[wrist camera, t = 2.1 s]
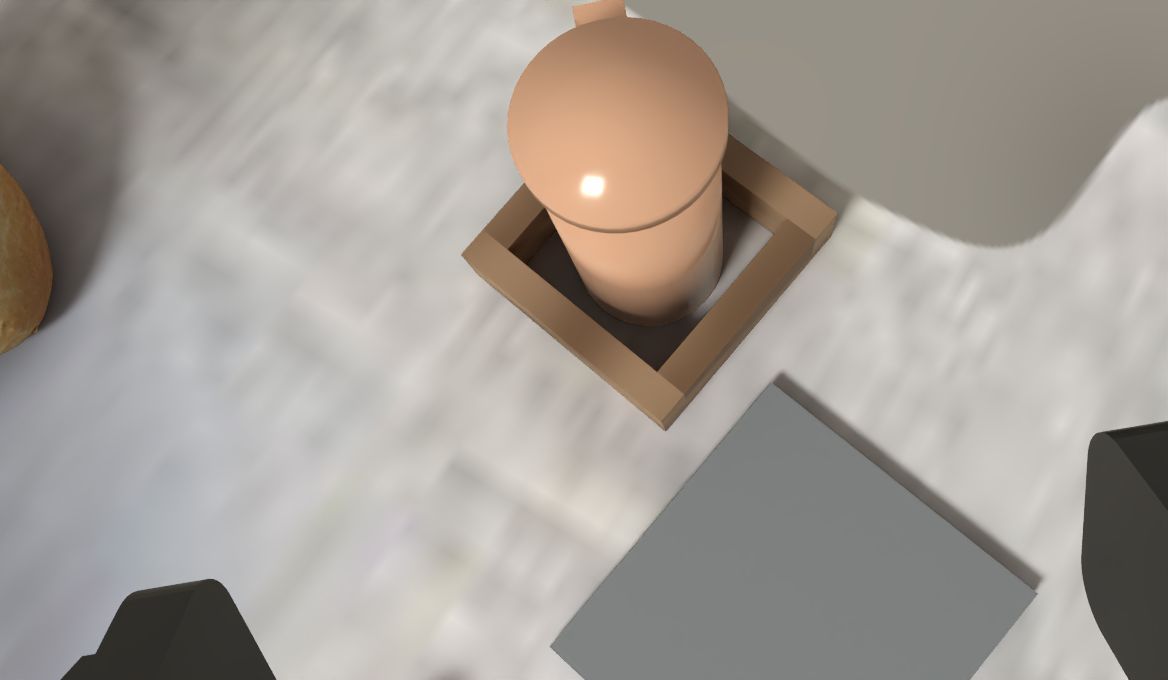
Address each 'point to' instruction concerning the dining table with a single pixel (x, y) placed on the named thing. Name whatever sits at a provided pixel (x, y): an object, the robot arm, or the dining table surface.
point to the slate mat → (794, 573)
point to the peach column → (627, 159)
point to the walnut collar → (723, 328)
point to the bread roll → (21, 266)
